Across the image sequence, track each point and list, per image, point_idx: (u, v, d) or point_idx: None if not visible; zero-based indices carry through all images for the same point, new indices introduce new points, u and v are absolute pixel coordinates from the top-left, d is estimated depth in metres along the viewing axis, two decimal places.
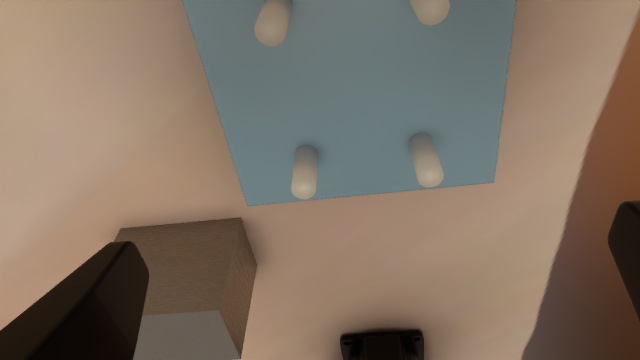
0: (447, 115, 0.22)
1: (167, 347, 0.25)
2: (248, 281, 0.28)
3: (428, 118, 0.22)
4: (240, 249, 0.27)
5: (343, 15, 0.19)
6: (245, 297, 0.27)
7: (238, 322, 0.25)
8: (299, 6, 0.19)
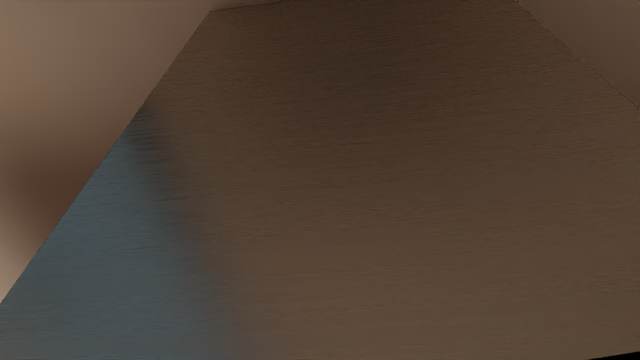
0: None
1: None
2: (448, 35, 0.05)
3: None
4: (250, 46, 0.06)
5: None
6: (466, 83, 0.04)
7: (500, 230, 0.03)
8: None
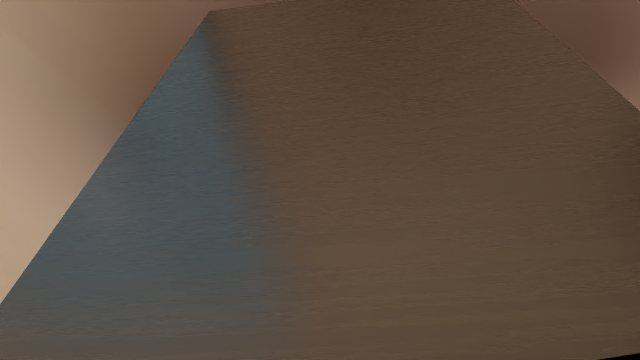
0: None
1: None
2: (448, 35, 0.05)
3: None
4: (249, 46, 0.06)
5: None
6: (466, 83, 0.04)
7: (499, 229, 0.03)
8: None
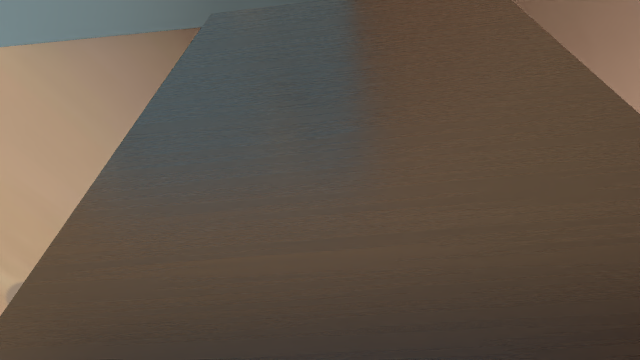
0: None
1: None
2: (449, 38, 0.05)
3: None
4: (252, 49, 0.06)
5: None
6: (468, 86, 0.04)
7: (502, 235, 0.03)
8: None
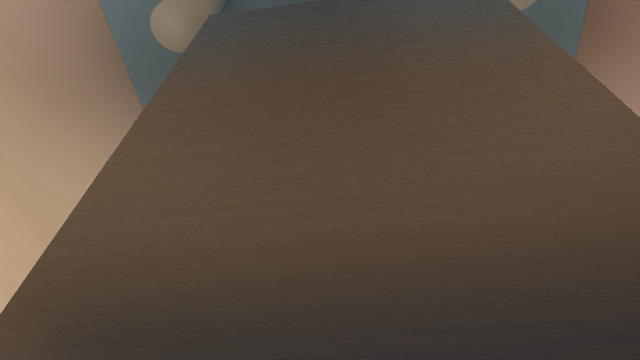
0: None
1: None
2: (448, 39, 0.05)
3: None
4: (250, 50, 0.06)
5: None
6: (466, 89, 0.04)
7: (499, 238, 0.03)
8: None
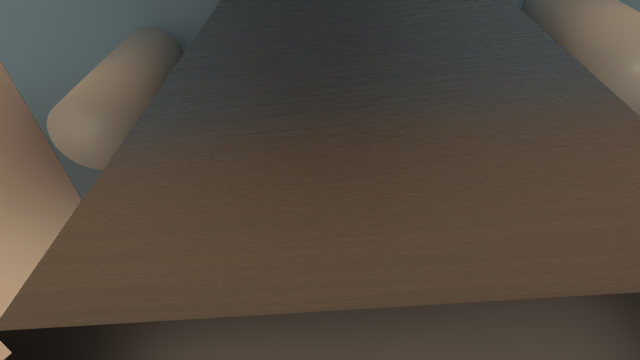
0: None
1: None
2: (435, 14, 0.06)
3: None
4: (260, 26, 0.07)
5: None
6: (447, 51, 0.05)
7: (465, 150, 0.03)
8: None
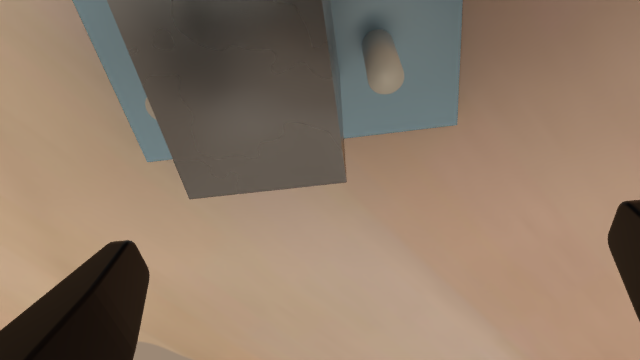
0: None
1: (256, 39, 0.10)
2: None
3: None
4: None
5: None
6: None
7: None
8: None
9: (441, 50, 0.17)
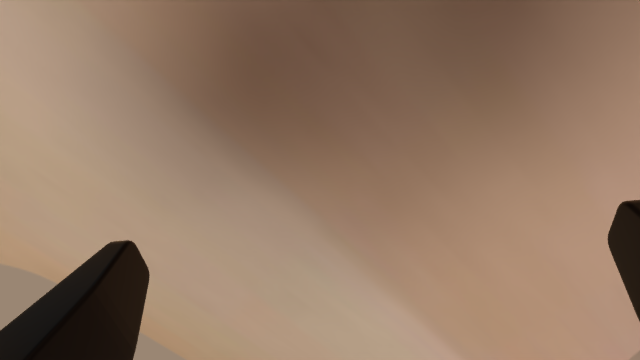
0: None
1: None
2: None
3: None
4: None
5: None
6: None
7: None
8: None
9: None
